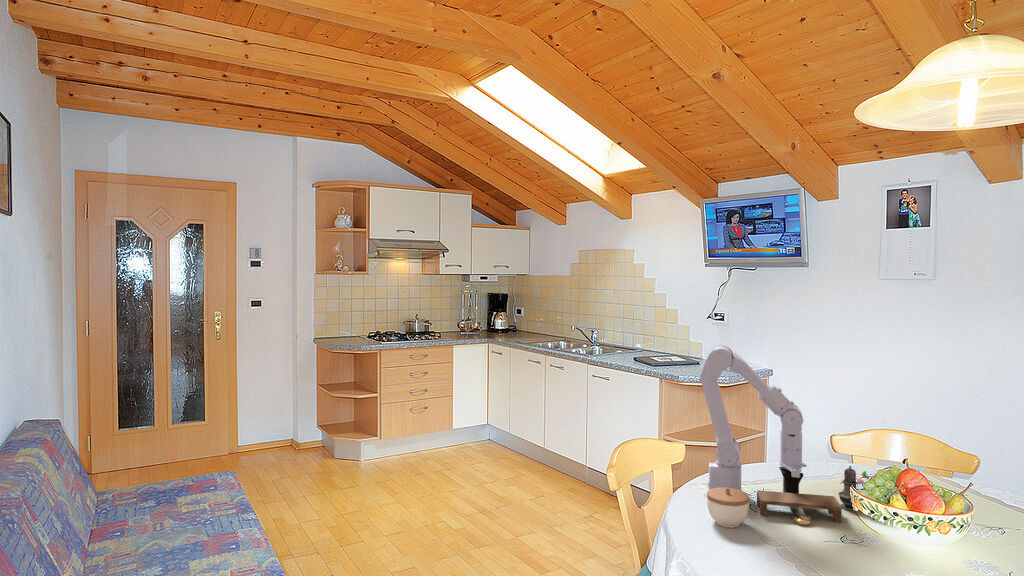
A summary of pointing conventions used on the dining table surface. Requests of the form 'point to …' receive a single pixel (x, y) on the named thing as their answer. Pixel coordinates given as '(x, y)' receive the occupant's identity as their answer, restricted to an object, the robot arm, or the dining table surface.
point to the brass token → (802, 521)
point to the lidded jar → (728, 506)
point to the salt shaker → (848, 488)
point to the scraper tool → (794, 510)
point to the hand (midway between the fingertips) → (791, 494)
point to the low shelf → (799, 502)
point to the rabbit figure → (859, 479)
